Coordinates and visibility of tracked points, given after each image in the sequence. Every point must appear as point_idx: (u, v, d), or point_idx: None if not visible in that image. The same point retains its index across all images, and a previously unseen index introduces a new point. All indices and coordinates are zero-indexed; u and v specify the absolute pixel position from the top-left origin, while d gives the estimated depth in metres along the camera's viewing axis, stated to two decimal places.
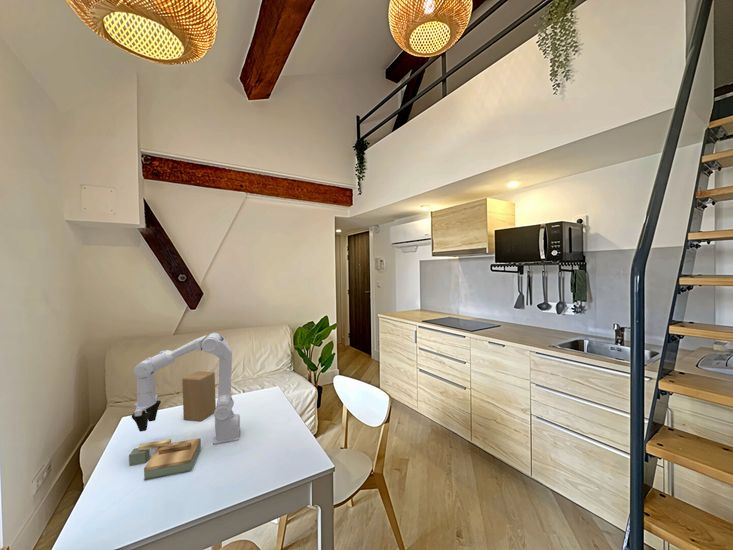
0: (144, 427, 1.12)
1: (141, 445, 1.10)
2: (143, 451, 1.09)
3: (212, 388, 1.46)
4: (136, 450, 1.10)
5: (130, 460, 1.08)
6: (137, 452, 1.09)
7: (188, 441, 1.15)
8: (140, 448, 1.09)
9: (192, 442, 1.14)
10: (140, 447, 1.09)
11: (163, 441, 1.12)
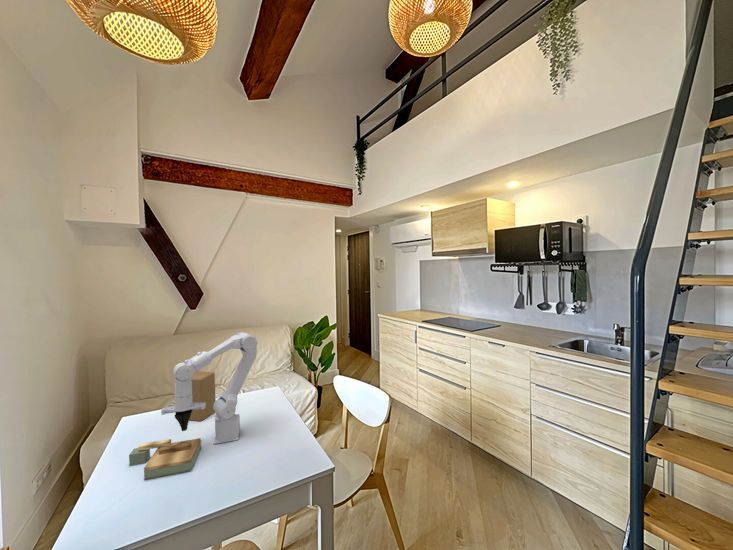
0: None
1: (141, 445, 1.10)
2: (143, 451, 1.09)
3: (212, 388, 1.46)
4: (136, 450, 1.10)
5: (130, 460, 1.08)
6: (137, 452, 1.09)
7: (188, 441, 1.15)
8: (140, 448, 1.09)
9: (192, 442, 1.14)
10: (140, 447, 1.09)
11: (163, 441, 1.12)
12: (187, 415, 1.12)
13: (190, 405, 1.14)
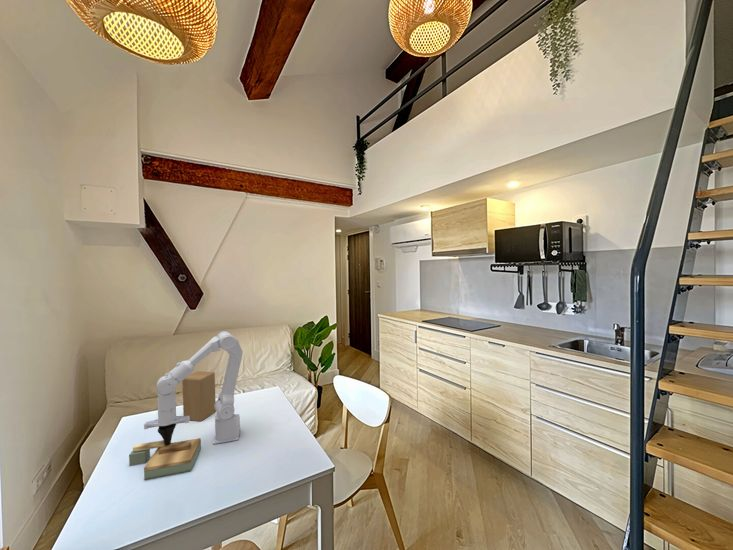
0: None
1: (136, 446, 1.09)
2: (143, 451, 1.09)
3: (212, 388, 1.46)
4: None
5: (130, 460, 1.08)
6: (137, 452, 1.09)
7: (188, 441, 1.15)
8: (135, 449, 1.09)
9: (192, 442, 1.14)
10: (135, 448, 1.09)
11: (158, 442, 1.12)
12: (170, 429, 1.11)
13: (173, 419, 1.12)
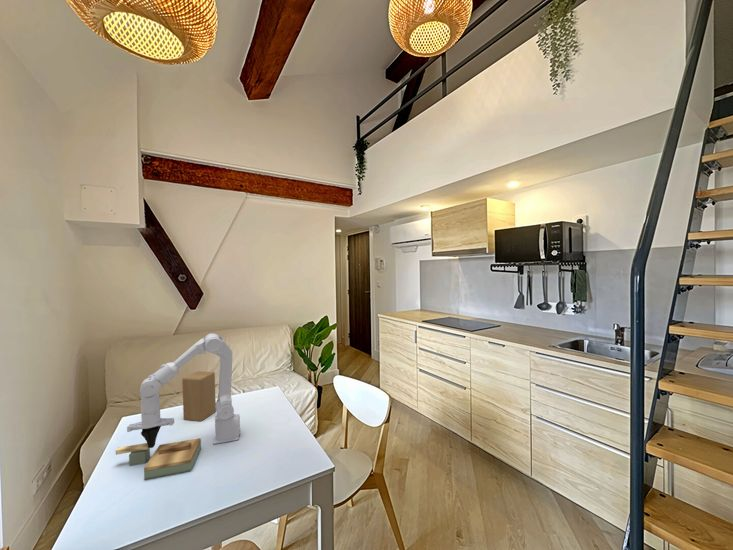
0: None
1: (119, 449, 1.08)
2: (143, 451, 1.09)
3: (212, 388, 1.46)
4: None
5: (130, 460, 1.08)
6: (137, 452, 1.09)
7: (188, 441, 1.15)
8: (117, 452, 1.07)
9: (192, 442, 1.14)
10: (117, 451, 1.07)
11: (141, 445, 1.10)
12: (154, 432, 1.09)
13: (157, 421, 1.11)
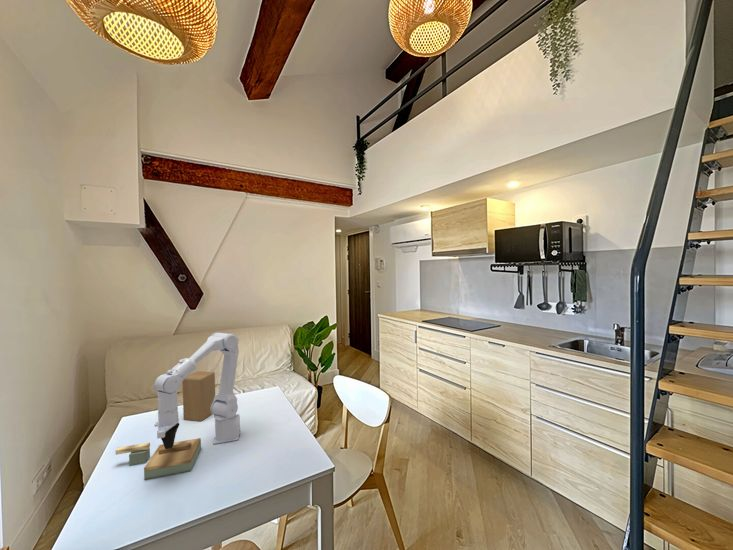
0: (171, 444, 1.03)
1: (119, 449, 1.08)
2: (143, 451, 1.09)
3: (212, 388, 1.46)
4: None
5: (130, 460, 1.08)
6: (137, 452, 1.09)
7: (188, 441, 1.15)
8: (117, 452, 1.07)
9: (192, 442, 1.14)
10: (117, 451, 1.07)
11: (141, 445, 1.10)
12: (178, 425, 1.06)
13: None
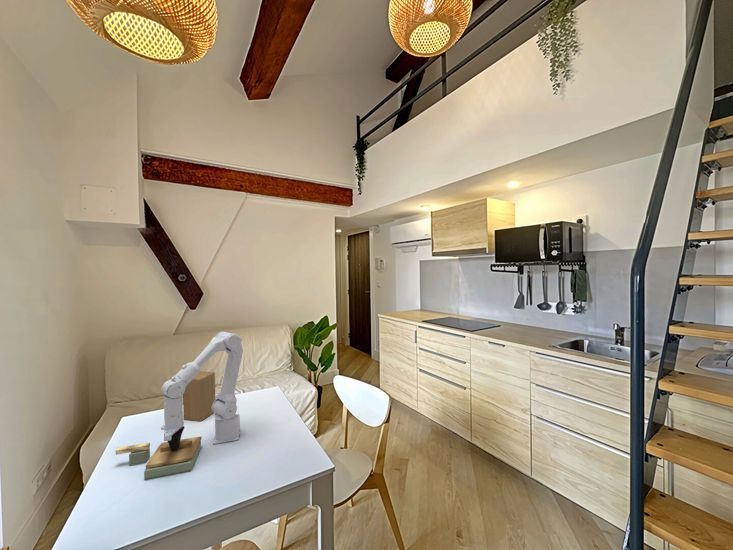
0: (176, 446, 1.08)
1: (119, 449, 1.08)
2: (143, 451, 1.09)
3: (212, 388, 1.46)
4: None
5: (130, 460, 1.08)
6: (137, 452, 1.09)
7: (189, 439, 1.16)
8: (117, 452, 1.07)
9: (193, 440, 1.16)
10: (117, 451, 1.07)
11: (141, 445, 1.10)
12: (183, 428, 1.11)
13: None
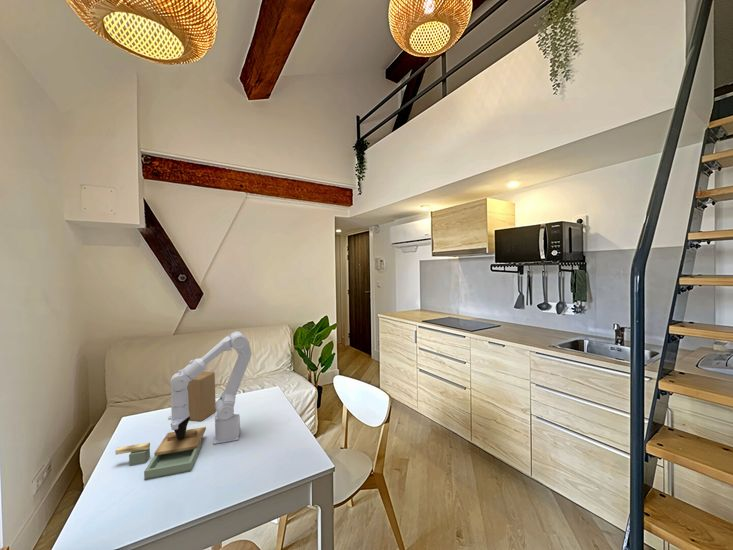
0: (182, 436, 1.15)
1: (119, 449, 1.08)
2: (143, 451, 1.09)
3: (212, 388, 1.46)
4: None
5: (130, 460, 1.08)
6: (137, 452, 1.09)
7: (194, 429, 1.23)
8: (117, 452, 1.07)
9: (198, 430, 1.23)
10: (117, 451, 1.07)
11: (141, 445, 1.10)
12: None
13: None
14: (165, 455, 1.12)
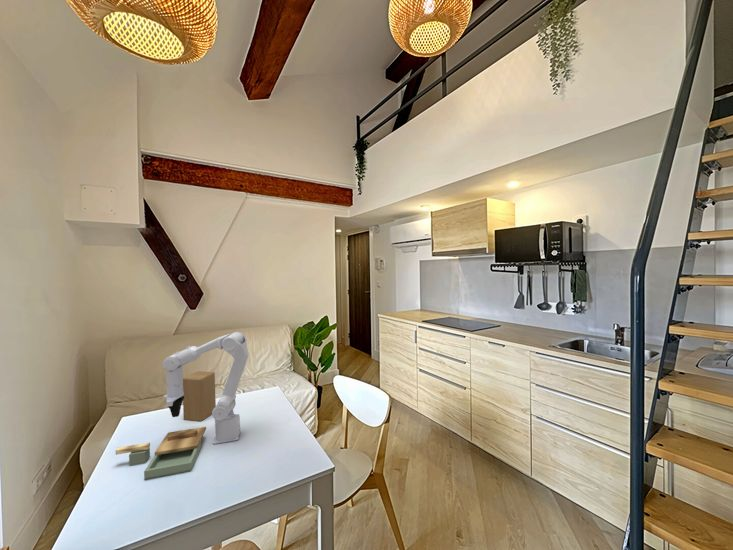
0: (177, 413, 1.22)
1: (119, 449, 1.08)
2: (143, 451, 1.09)
3: (212, 388, 1.46)
4: None
5: (130, 460, 1.08)
6: (137, 452, 1.09)
7: (194, 429, 1.24)
8: (117, 452, 1.07)
9: (198, 430, 1.23)
10: (117, 451, 1.07)
11: (141, 445, 1.10)
12: (183, 398, 1.25)
13: None
14: (165, 455, 1.12)
